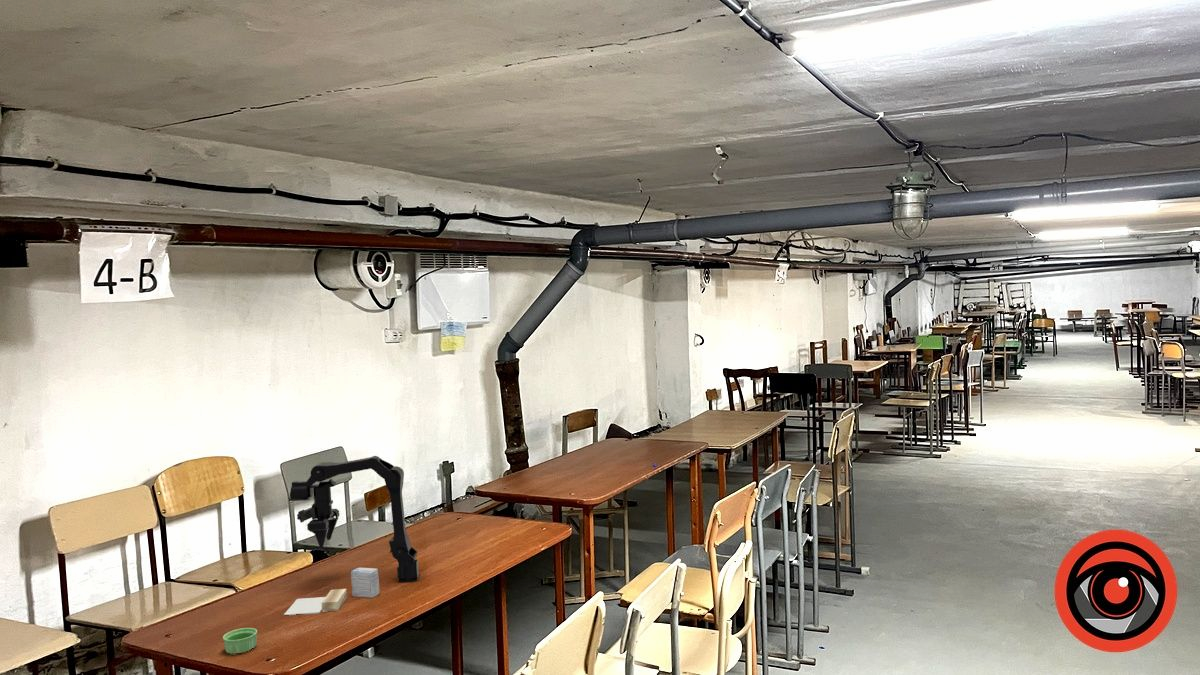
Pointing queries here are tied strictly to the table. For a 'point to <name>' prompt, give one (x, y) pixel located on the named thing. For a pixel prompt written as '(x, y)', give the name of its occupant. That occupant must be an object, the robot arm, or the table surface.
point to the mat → (306, 606)
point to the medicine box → (365, 582)
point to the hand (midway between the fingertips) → (325, 543)
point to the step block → (334, 600)
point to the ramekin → (240, 640)
